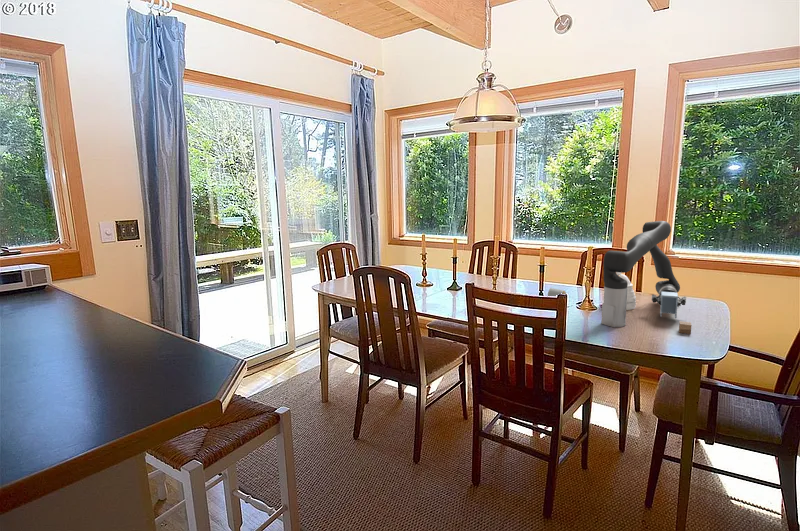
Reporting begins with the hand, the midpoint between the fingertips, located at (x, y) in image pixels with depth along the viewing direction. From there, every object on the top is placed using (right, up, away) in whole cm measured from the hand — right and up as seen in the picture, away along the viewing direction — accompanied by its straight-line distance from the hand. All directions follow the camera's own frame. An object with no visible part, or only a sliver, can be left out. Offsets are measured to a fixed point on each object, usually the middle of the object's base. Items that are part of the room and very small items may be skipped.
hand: (669, 303), depth 191 cm
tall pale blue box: (+2, -5, +3) cm, 6 cm away
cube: (-1, -11, -12) cm, 17 cm away
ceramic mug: (-35, -3, +41) cm, 54 cm away
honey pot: (-7, -4, +28) cm, 29 cm away
